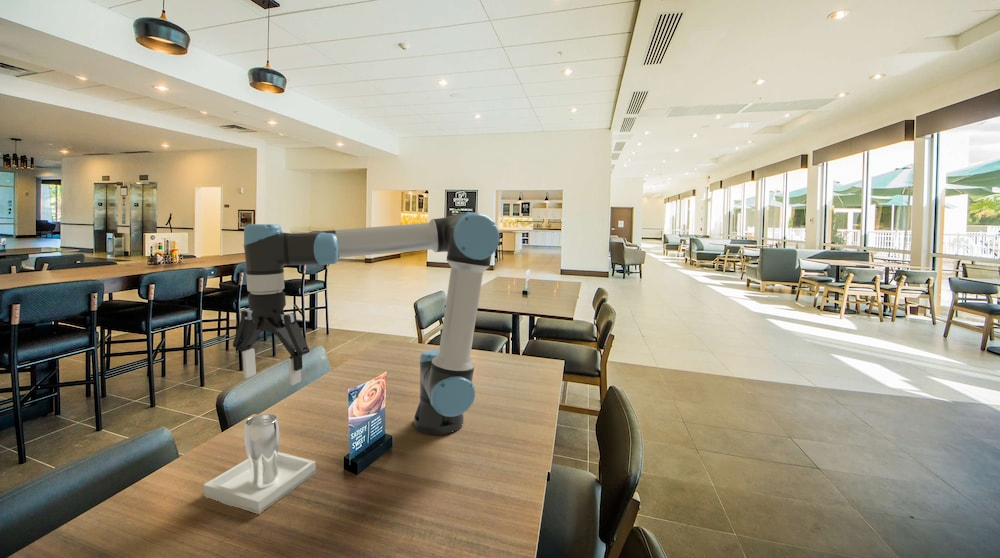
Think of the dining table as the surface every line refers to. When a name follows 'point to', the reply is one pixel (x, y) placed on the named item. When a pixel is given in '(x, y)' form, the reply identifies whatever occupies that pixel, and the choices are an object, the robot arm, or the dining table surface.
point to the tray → (238, 492)
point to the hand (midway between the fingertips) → (272, 379)
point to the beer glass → (262, 449)
